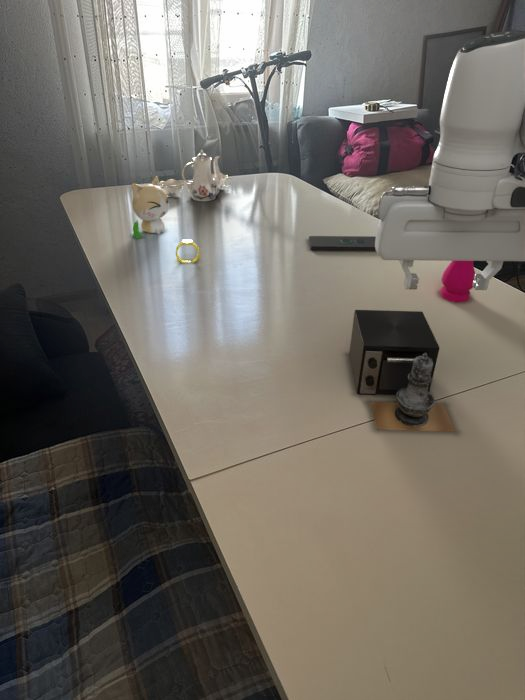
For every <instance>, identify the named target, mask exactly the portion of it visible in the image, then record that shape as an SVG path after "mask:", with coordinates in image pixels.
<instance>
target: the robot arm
mask: <svg viewBox="0 0 525 700" xmlns="http://www.w3.org/2000/svg"><path fill="white" fill-rule="evenodd" d="M439 131H440V132H439V133H440V135H439V136H440V137H439V142H438V144H437V147H436V149H435V152H434V154H433V157H432V163H431V169H430V173H429V174H430V175H429V181H428V185H415V186H403V185H398V186H397V185H396V186H393V187H391V188H392V189H388V190H387V191H385V192H383V193H382V194H381V196H380V198H379V200H378V208H377V216H378V218H379V222H378V224H377V225H378V226H377V229H376V234H375V237H376V239H375V249H376V251H375V252H376V254H377V255H378V256H379V258H381V259H382V260H383V261H398V262H399V264H400V266H401V269H402V271H403V272H404V280H403V286H404V289H405V290H418V284H419V280H420V278H419V277H418V274H417V273H416V272H411V271H410V269H409V268H413V266H414V263H415V262H414V261H439V262H441V261H442V262H444V261H445V262H446V261H448V262H452V261H473V262H486V263H487V265H486V266H485V267H484V269H483V270H482V271H481V273H475V275H474V281H473V288H472V289H474V290H475V291H487V290H488V288H489V284H490V280H492V278H494V276H496V275H497V274H498V273H499V272H500V271H501V269H502V268H503V265H504V262H525V177H523V176H520V175H517V174H515V173H511V172H510V169H511V165H512V161H513V158H514V157H515V156H516V155H517V154H523V153H525V30H520V29H515V30H514V29H513V30H507V31H497V32H492V33H487V34H482V35H479V36H476V37H474V38H472V39H470V40H468V41H466V42H465V43H464V44H463V45H462V46H461V47H460V48H459V50H457V53H456V55H455V57H454V60H453V62H452V65H451V68H450V71H449V75H448V79H447V82H446V86H445V91H444V96H443V100H442V105H441V111H440V116H439Z"/></svg>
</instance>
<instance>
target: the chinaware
mask: <svg viewBox="0 0 525 700" xmlns="http://www.w3.org/2000/svg"><path fill="white" fill-rule="evenodd" d="M212 158H213V157H211V156H208V154H206V153H205V152H204V150H203V149H201V150H200V151H199V153H198V154H197V155H196V156H193V157H192V160H193V162H188V163H186V164H185V165H184V166H183V167H182V170H181V177H182V179H179V180H176V179H174V178H170V179H167V180H159V184H160V188H162V189H163V190H164V192H165V193H166V195H167V196H168V197H169V198H170V199H177V197H178V196H180V194H181V193H182V191H183V187H184V186H185V182H186V186H187V191H188V193H189V194H190V196H191V199H192V200H194V201H197V202H209V201H214V200H216V198H217V196H218V195H219V193H220V189H222V190H224V189H225V187H230V186H231V185H232V179H231V178H230V177H228V176H229V175H228V174H224V173H223V172H221V169H220V167H219V164H218V163H219V161H218V160H219V158H220V156H219V155H215V157H214V158H213V173H212V169H211V167H212V166H211V163H212ZM188 166H190V167H191V169H194V172H193V177H192V180H191V181H190V180H188V179H186V177H185V172H186V171H185V170H186V169H187V167H188ZM227 179H229V181H230V183H229V184H228V185H226V181H227Z"/></svg>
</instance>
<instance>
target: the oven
mask: <svg viewBox="0 0 525 700" xmlns="http://www.w3.org/2000/svg"><path fill="white" fill-rule="evenodd" d="M352 320H353V321H352V329H351V337H350V344H349V353H348V357H349V362H350V367H351V373H352V376H353V382H354V387H355V392H356V395H381V396H396V394H397V392H398V391H399V390H400V389H402V388H404V387H408V383H409V379H408V374H409V373H411V371H412V366H413V362H414V359H415V358H416V357H418V356H423V354H424V353H427V357H429V358H430V359H431V360H432V361H433V368H432V372H431V378H432V379H433V377H434V373H435V369H436V365H437V360H438V356H439V352H440V348H441V347H440V345H439V343H438V341H437V339H436V337H435V335H434V332H433V331H432V328H431V326H430V324H429V322H428V321H427V318H426V316H425V314H424V312H423V311H416V310H413V311H412V310H379V309H378V310H377V309H354V313H353V319H352ZM431 386H432V383H431V384H429V387H428V392H429V393H430V391H431Z"/></svg>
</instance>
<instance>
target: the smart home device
mask: <svg viewBox="0 0 525 700" xmlns="http://www.w3.org/2000/svg"><path fill="white" fill-rule="evenodd" d="M375 239H376V236H370V235H369V236H368V235H365V236H364V235H361V236H359V235H358V236H355V235H353V236H351V235H337V236H336V235H309V236H308V243H309V248H310V249H309V250H310V251H313V252H376V249H375Z"/></svg>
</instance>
